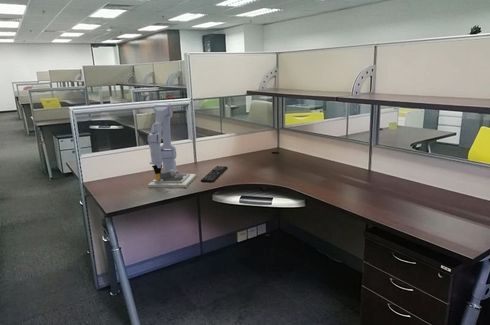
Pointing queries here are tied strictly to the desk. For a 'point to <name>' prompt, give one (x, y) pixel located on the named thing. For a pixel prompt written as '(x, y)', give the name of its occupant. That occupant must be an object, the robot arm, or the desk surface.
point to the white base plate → (173, 182)
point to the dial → (169, 176)
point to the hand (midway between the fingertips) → (158, 177)
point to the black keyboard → (214, 174)
